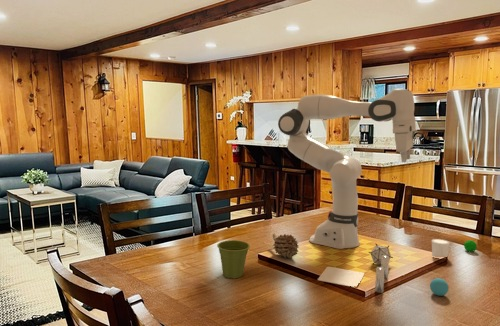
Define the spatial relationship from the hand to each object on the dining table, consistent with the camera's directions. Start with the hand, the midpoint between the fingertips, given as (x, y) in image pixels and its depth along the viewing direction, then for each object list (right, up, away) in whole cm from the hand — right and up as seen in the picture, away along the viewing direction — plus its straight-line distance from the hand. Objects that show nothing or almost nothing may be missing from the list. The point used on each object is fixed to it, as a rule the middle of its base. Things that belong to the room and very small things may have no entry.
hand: (406, 160), depth 167 cm
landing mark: (-32, -43, -22) cm, 58 cm away
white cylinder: (+13, -41, -1) cm, 43 cm away
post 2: (-17, -43, -23) cm, 51 cm away
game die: (-14, -42, -10) cm, 45 cm away
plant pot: (-72, -42, -22) cm, 86 cm away
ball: (-3, -42, -36) cm, 56 cm away
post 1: (-22, -44, -34) cm, 60 cm away
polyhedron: (+31, -40, +7) cm, 51 cm away
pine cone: (-52, -40, 0) cm, 66 cm away
